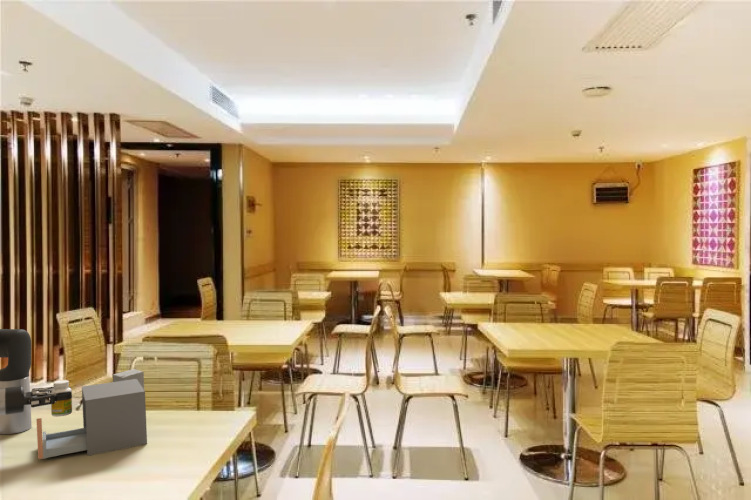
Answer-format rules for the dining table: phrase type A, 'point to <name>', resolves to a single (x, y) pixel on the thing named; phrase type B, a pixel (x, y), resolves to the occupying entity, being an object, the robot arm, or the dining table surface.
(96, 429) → the cabinet
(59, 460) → the dining table surface
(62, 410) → the supplement bottle
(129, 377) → the skincare box
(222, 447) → the dining table surface
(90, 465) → the dining table surface
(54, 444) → the drawer
